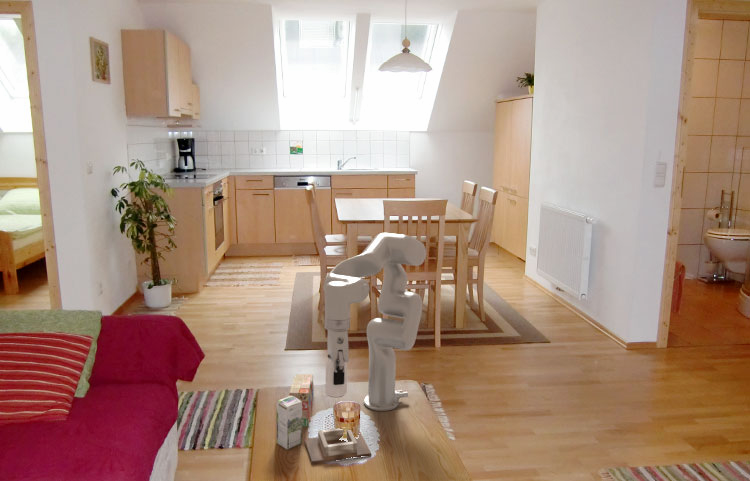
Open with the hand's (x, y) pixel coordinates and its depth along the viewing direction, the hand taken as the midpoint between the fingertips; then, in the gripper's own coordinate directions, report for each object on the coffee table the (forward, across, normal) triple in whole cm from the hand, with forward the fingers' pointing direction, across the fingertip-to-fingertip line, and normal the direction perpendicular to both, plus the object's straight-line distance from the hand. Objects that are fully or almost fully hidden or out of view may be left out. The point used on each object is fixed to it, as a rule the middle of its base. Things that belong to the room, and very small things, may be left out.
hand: (336, 379), depth 176 cm
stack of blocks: (+22, +25, +7) cm, 34 cm away
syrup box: (+22, +5, +14) cm, 27 cm away
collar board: (+22, -2, 0) cm, 22 cm away
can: (+5, 0, 0) cm, 5 cm away
